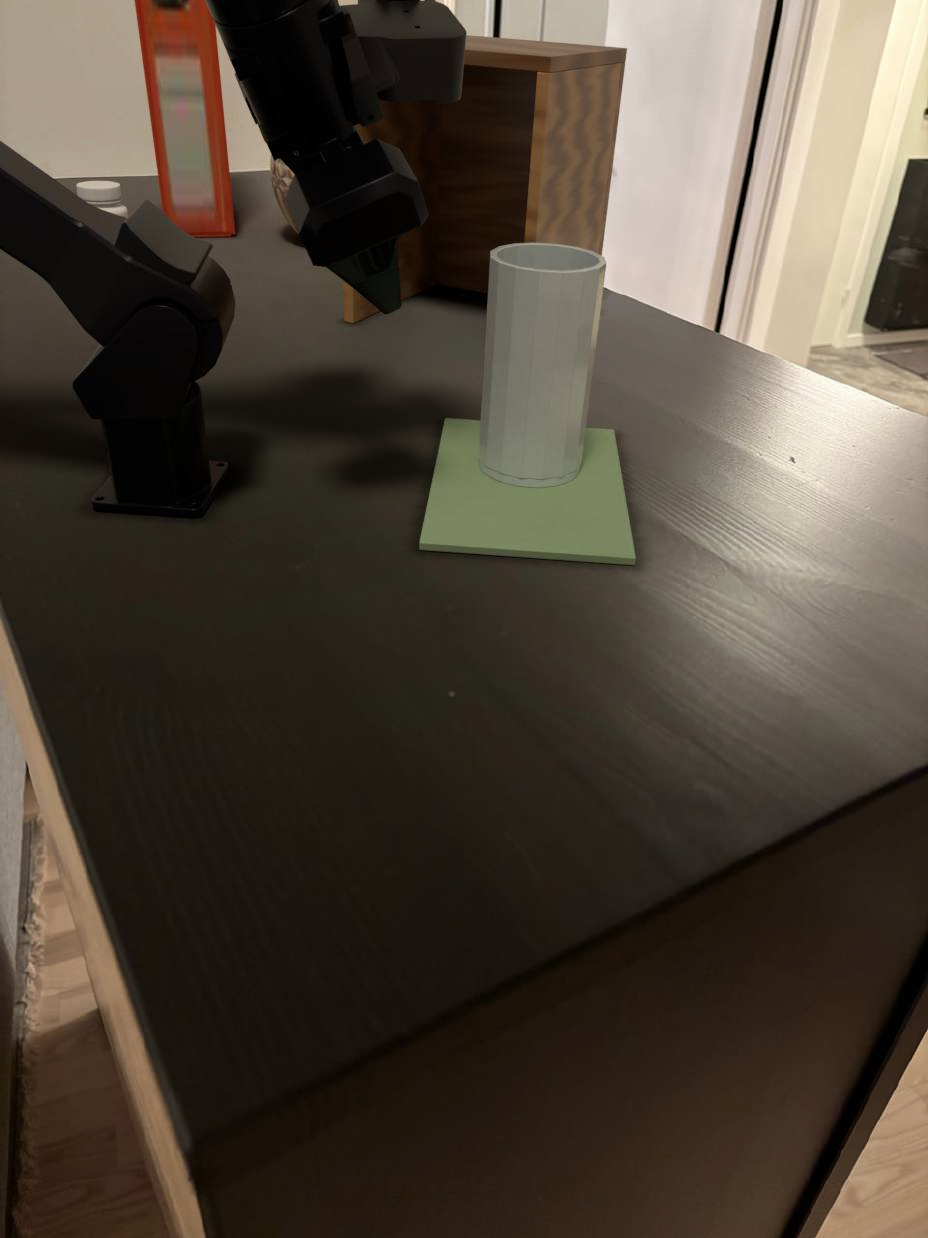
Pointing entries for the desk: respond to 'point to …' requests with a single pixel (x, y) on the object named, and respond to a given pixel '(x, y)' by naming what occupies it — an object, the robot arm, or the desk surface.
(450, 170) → the cubby cabinet
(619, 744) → the desk surface
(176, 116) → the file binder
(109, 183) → the pill bottle
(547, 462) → the container
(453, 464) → the mat
